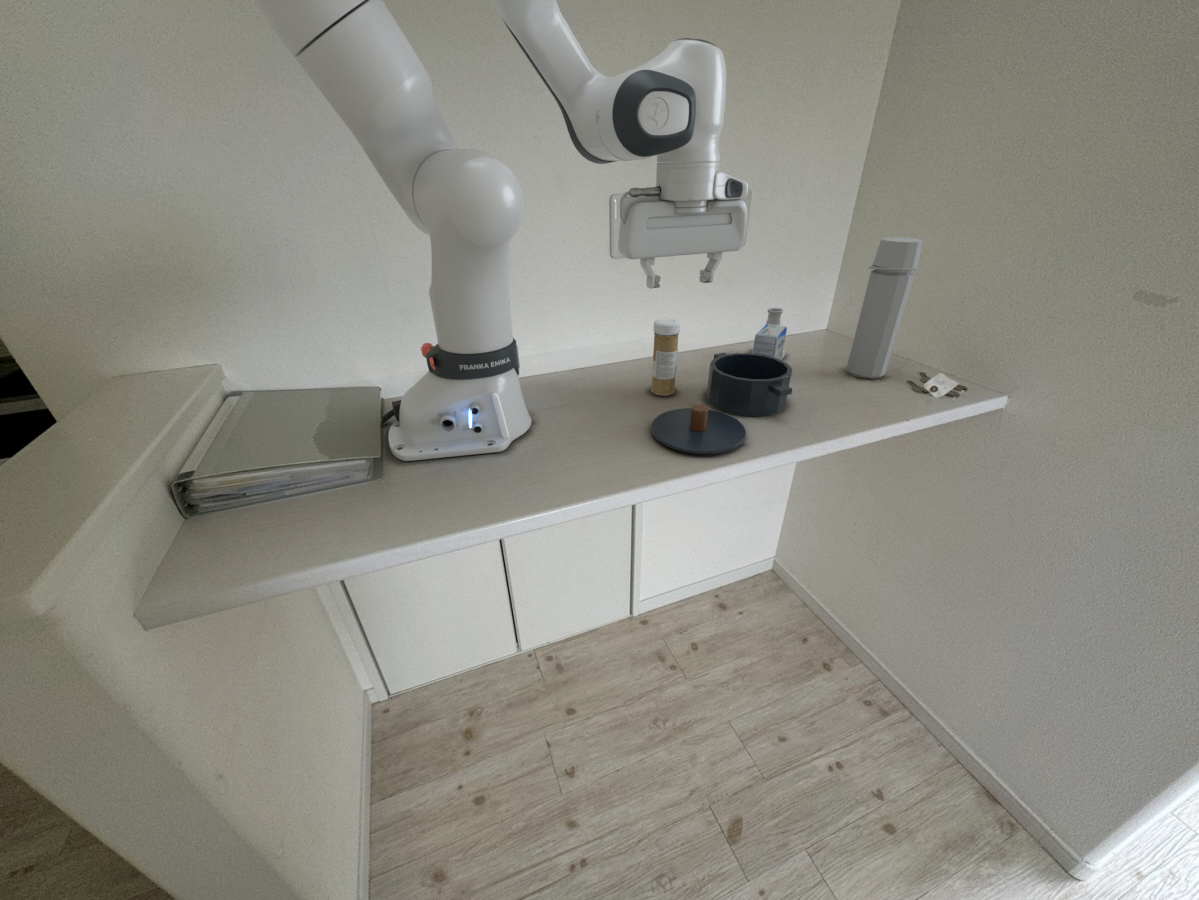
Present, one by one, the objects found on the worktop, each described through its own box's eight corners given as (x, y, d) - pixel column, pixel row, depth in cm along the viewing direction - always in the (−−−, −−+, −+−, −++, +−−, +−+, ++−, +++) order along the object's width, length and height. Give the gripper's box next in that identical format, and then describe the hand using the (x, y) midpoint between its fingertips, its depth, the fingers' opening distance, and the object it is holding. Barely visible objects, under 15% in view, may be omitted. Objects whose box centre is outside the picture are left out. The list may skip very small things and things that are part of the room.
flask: (781, 349, 113) (789, 305, 107) (788, 360, 106) (797, 314, 101) (748, 349, 113) (755, 304, 108) (754, 360, 107) (761, 313, 102)
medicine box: (771, 380, 97) (779, 336, 93) (748, 376, 99) (755, 333, 95) (780, 367, 103) (788, 326, 99) (759, 363, 105) (765, 323, 101)
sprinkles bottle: (654, 385, 95) (658, 316, 89) (678, 389, 94) (683, 318, 87) (647, 394, 92) (650, 322, 85) (671, 398, 90) (676, 325, 83)
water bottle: (892, 381, 96) (934, 242, 83) (849, 379, 97) (884, 242, 84) (876, 364, 104) (913, 235, 91) (837, 363, 105) (867, 235, 92)
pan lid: (680, 466, 70) (683, 437, 68) (635, 423, 82) (636, 397, 80) (764, 445, 75) (769, 418, 73) (710, 407, 87) (713, 383, 84)
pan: (745, 429, 80) (751, 392, 76) (685, 386, 95) (688, 354, 92) (813, 414, 84) (821, 379, 81) (745, 376, 99) (749, 344, 96)
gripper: (629, 188, 66) (627, 295, 73) (758, 184, 72) (745, 283, 79) (611, 187, 71) (611, 286, 78) (733, 183, 77) (723, 275, 84)
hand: (679, 284), depth 78 cm, fingers open, 8 cm apart
